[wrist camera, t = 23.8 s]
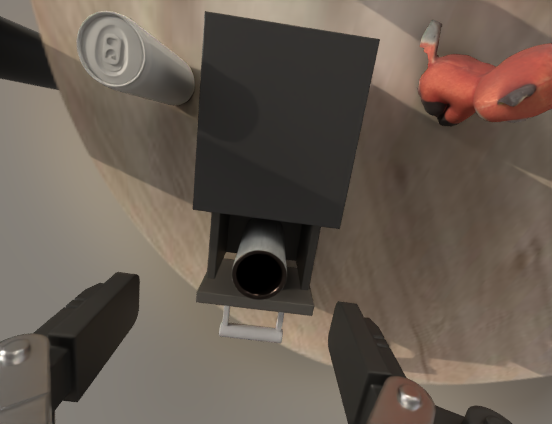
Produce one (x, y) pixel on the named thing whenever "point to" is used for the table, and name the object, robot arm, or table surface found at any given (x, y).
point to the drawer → (223, 292)
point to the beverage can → (132, 60)
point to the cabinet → (279, 119)
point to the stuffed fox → (485, 84)
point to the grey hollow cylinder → (260, 260)
